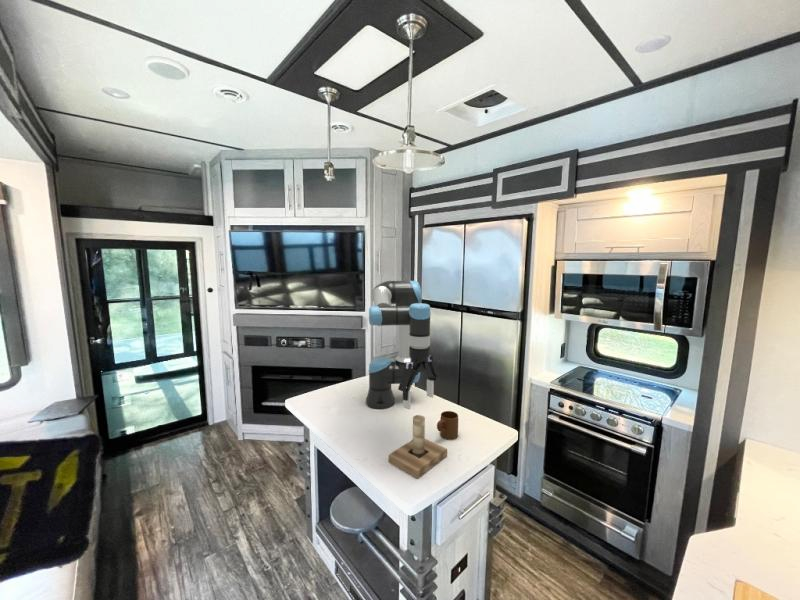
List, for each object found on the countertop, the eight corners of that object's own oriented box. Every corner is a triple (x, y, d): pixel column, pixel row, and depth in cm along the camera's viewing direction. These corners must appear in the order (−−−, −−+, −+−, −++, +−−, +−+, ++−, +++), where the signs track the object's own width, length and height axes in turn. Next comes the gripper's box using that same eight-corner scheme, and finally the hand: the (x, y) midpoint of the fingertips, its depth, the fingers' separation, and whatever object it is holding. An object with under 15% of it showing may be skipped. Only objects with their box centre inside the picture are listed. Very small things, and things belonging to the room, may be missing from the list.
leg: (417, 452, 128) (417, 413, 126) (426, 457, 125) (427, 417, 123) (409, 458, 124) (410, 418, 122) (419, 463, 121) (419, 422, 119)
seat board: (418, 442, 136) (418, 435, 135) (447, 456, 126) (447, 448, 126) (388, 462, 123) (388, 454, 122) (417, 479, 113) (417, 471, 113)
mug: (444, 446, 133) (445, 424, 132) (430, 439, 138) (430, 418, 137) (461, 435, 142) (462, 414, 140) (447, 429, 147) (447, 409, 146)
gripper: (431, 338, 131) (431, 389, 133) (388, 351, 112) (388, 410, 115) (447, 341, 126) (446, 394, 128) (404, 355, 107) (404, 417, 110)
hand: (418, 402), depth 122 cm, fingers open, 13 cm apart
